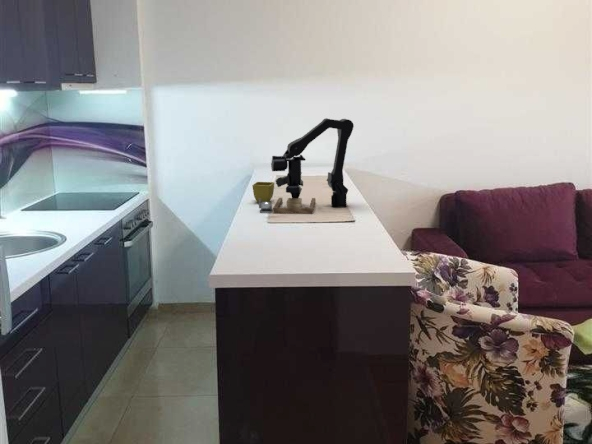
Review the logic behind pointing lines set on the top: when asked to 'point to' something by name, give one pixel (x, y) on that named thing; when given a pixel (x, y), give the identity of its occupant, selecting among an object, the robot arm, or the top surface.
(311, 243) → the top surface
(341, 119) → the robot arm
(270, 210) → the winch drum
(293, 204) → the box
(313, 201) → the bay
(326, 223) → the top surface
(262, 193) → the flower pot
